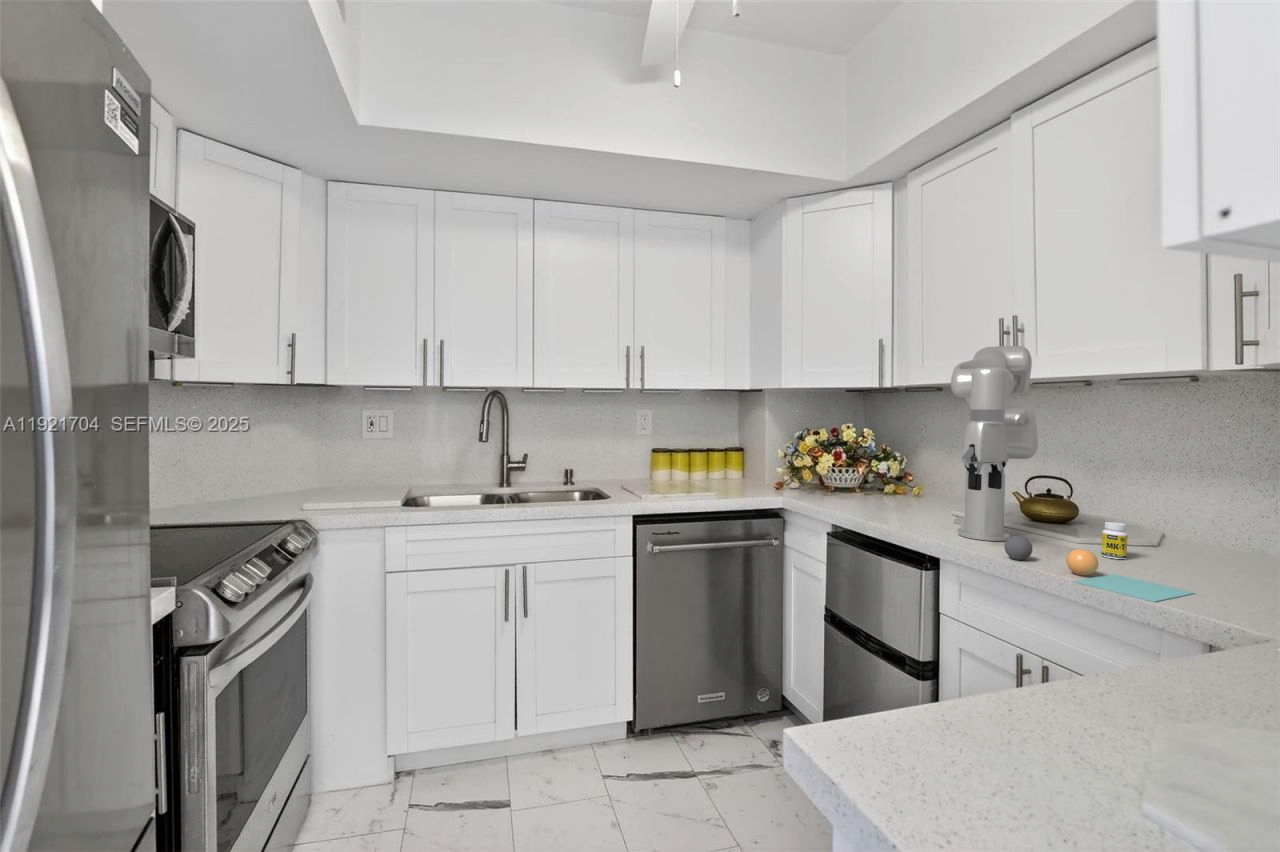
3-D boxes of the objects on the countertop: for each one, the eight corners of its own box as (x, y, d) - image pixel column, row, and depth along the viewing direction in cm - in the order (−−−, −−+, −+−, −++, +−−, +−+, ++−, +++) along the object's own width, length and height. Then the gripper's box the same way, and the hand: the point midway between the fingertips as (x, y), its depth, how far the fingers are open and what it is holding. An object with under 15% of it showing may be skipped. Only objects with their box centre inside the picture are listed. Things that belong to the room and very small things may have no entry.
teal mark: (1074, 581, 124) (1074, 580, 124) (1114, 574, 130) (1114, 573, 130) (1154, 602, 111) (1154, 601, 111) (1195, 593, 117) (1195, 592, 117)
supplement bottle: (1103, 558, 144) (1104, 523, 144) (1099, 554, 148) (1100, 520, 148) (1128, 561, 142) (1130, 526, 141) (1123, 557, 146) (1125, 522, 145)
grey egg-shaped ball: (998, 557, 143) (999, 534, 143) (1014, 555, 146) (1014, 532, 145) (1021, 563, 138) (1022, 539, 138) (1037, 561, 140) (1038, 537, 140)
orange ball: (1059, 573, 131) (1060, 547, 130) (1075, 570, 133) (1076, 545, 133) (1087, 580, 125) (1089, 553, 125) (1104, 577, 128) (1105, 551, 127)
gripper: (996, 417, 156) (993, 485, 157) (949, 416, 149) (947, 488, 149) (1024, 417, 149) (1022, 489, 150) (977, 417, 142) (974, 492, 143)
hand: (984, 488), depth 150 cm, fingers open, 6 cm apart
